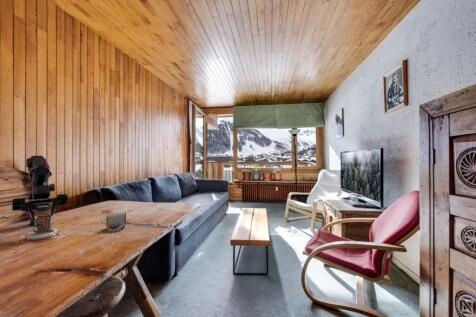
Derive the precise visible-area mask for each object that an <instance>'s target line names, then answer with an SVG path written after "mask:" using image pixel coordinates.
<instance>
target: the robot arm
mask: <svg viewBox="0 0 476 317" xmlns="http://www.w3.org/2000/svg"><path fill="white" fill-rule="evenodd" d="M25 162H26V164H25V166H26V167H25V168H27V172H28V179H30V181H31V194H30V195H29V197H28V198H26V197H17V198H15V197H14V198H13V199H12V200H11V202H12V203H11V211H14V212H17V211H21V212H25V213H26V214H27V215H29V222H28V226H33V219H34V212H36V211H37V206H42V205H49V210H51V217H53V216H54V214H55V211H56V209H57V208H58V207H61V206H65V205H67V204H68V199H69V194H67V193H62V194H60V193H59V194H56V197H51V192H55V191H56V184H55V183H49V182H48V181H49V180H50V177H51V176H53V173H52V172H51V170H50V169H49V168H48V167H47V164H48V163H47V159H46V158H45V157H44V155H31V156H30V157H27V158H26V160H25ZM51 203H52V205H51ZM50 207H51V208H50Z"/></svg>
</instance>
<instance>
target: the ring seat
mask: <svg viewBox="0 0 476 317" xmlns="http://www.w3.org/2000/svg"><path fill="white" fill-rule="evenodd" d="M59 234H60V233H59V230H58V229H57V228H51V230H49V231H47V232H43V233H34V232H33V231H31V232H28V233H26V236H25V237H24V239H25V240H26V241H40V240H46V239H49V238H53V237H56V236H58V235H59Z"/></svg>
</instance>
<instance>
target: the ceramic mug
mask: <svg viewBox="0 0 476 317" xmlns="http://www.w3.org/2000/svg"><path fill="white" fill-rule="evenodd" d="M105 219H106V220H105V226H106V228H107V229H108V232H110V233H115V232H118V231H120V230H121V229H123V228H124V229H125V228H126V226H127V213H126V211H121V212H115V213H110V214H107V216H106V218H105Z"/></svg>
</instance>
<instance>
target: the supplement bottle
mask: <svg viewBox="0 0 476 317" xmlns="http://www.w3.org/2000/svg"><path fill="white" fill-rule="evenodd" d="M51 210H52V209H50V210H49V205H42V206H37V211H36V212H34V219H33V225H32V227H33V228H32V232H34V233H43V232H47V231H49V230H51V229H52V216H51Z"/></svg>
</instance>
